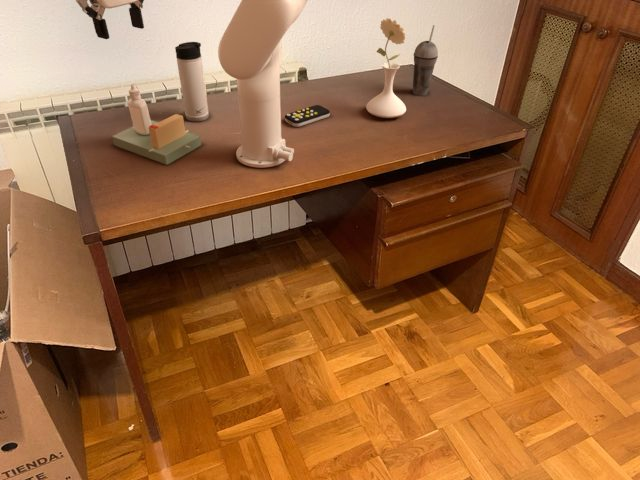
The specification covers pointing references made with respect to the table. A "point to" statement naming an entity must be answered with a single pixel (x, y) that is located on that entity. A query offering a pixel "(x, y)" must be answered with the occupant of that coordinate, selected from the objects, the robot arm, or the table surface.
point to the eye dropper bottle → (139, 112)
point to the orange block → (167, 131)
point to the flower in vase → (388, 77)
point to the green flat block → (144, 147)
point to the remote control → (307, 115)
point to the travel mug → (192, 81)
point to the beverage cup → (424, 65)
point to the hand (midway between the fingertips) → (121, 32)
